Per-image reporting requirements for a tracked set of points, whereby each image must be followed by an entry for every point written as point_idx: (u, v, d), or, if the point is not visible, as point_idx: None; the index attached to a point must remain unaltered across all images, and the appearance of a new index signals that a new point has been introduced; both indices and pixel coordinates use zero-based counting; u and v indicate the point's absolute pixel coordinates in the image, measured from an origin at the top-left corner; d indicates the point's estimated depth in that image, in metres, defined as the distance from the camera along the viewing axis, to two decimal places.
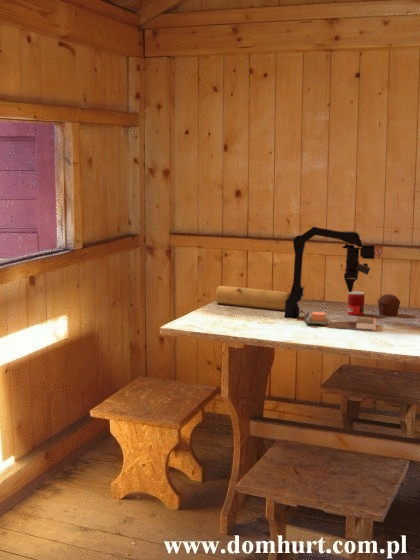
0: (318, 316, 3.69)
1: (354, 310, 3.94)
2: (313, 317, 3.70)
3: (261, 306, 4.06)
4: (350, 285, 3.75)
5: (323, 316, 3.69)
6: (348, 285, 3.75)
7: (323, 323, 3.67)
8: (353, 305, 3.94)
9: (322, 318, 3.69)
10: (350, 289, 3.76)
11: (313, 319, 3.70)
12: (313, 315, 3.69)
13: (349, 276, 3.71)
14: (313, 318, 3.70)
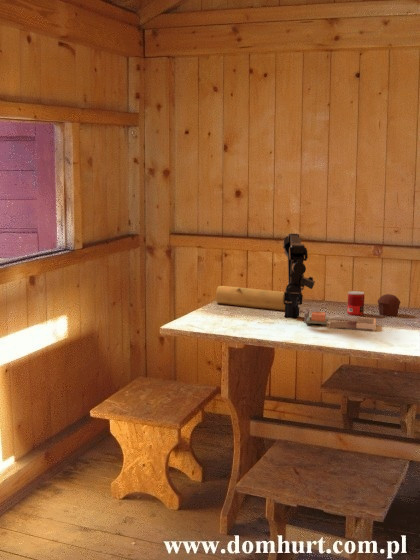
0: (318, 316, 3.69)
1: (354, 310, 3.94)
2: (313, 317, 3.70)
3: (261, 306, 4.06)
4: (294, 300, 3.67)
5: (323, 316, 3.69)
6: (292, 300, 3.68)
7: (323, 323, 3.67)
8: (353, 305, 3.94)
9: (322, 318, 3.69)
10: (294, 304, 3.68)
11: (313, 319, 3.70)
12: (313, 315, 3.69)
13: (292, 291, 3.63)
14: (313, 318, 3.70)
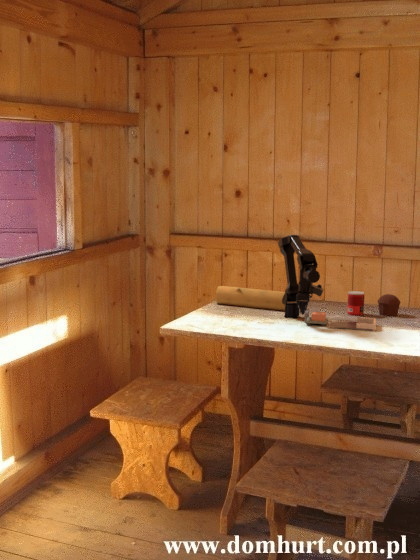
0: (318, 316, 3.69)
1: (354, 310, 3.94)
2: (313, 317, 3.70)
3: (261, 306, 4.06)
4: (302, 307, 3.67)
5: (323, 316, 3.68)
6: (300, 307, 3.67)
7: (323, 323, 3.67)
8: (353, 305, 3.94)
9: (322, 318, 3.69)
10: (303, 311, 3.68)
11: (313, 319, 3.70)
12: (313, 315, 3.69)
13: (301, 298, 3.63)
14: (313, 318, 3.70)
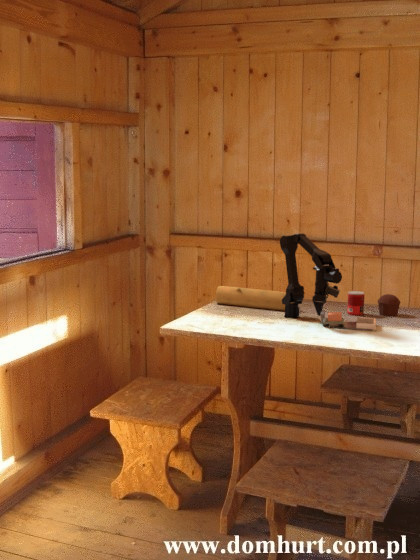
0: (334, 317, 3.68)
1: (354, 310, 3.94)
2: (329, 318, 3.68)
3: (261, 306, 4.06)
4: (319, 308, 3.66)
5: (339, 316, 3.67)
6: (317, 308, 3.66)
7: (340, 323, 3.66)
8: (353, 305, 3.94)
9: (338, 318, 3.67)
10: (319, 312, 3.66)
11: (329, 320, 3.68)
12: (329, 316, 3.68)
13: (317, 299, 3.62)
14: (329, 319, 3.68)
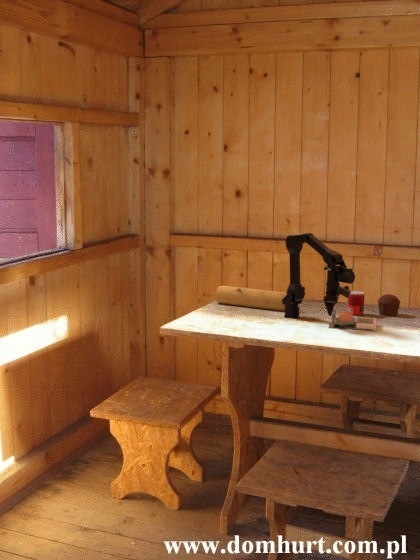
0: (345, 317, 3.67)
1: (354, 310, 3.94)
2: (340, 318, 3.67)
3: (260, 306, 4.06)
4: (330, 308, 3.65)
5: (350, 316, 3.66)
6: (328, 308, 3.65)
7: (351, 323, 3.65)
8: (353, 305, 3.94)
9: (349, 318, 3.66)
10: (330, 312, 3.65)
11: (340, 320, 3.67)
12: (340, 316, 3.67)
13: (329, 299, 3.60)
14: (340, 319, 3.67)
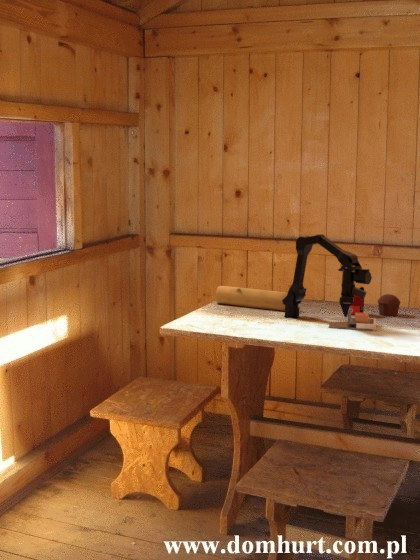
0: (361, 317, 3.65)
1: (354, 310, 3.94)
2: (356, 318, 3.66)
3: (260, 306, 4.06)
4: (345, 310, 3.63)
5: (366, 317, 3.65)
6: (343, 310, 3.63)
7: None
8: (353, 305, 3.94)
9: (365, 319, 3.65)
10: (345, 314, 3.64)
11: (356, 320, 3.66)
12: (356, 316, 3.65)
13: (344, 301, 3.59)
14: (356, 319, 3.66)
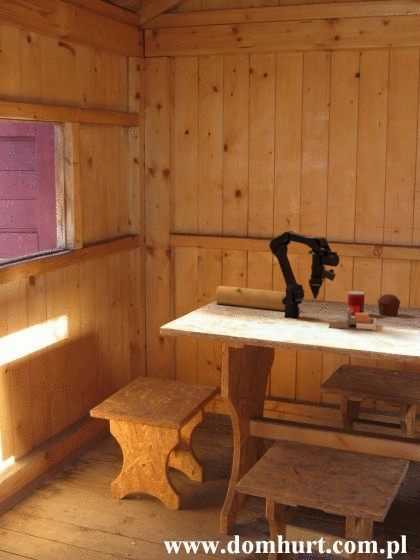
0: (361, 317, 3.65)
1: (354, 310, 3.94)
2: (356, 318, 3.66)
3: (261, 306, 4.06)
4: (315, 291, 3.71)
5: (366, 317, 3.65)
6: (313, 291, 3.71)
7: None
8: (353, 305, 3.94)
9: (365, 319, 3.65)
10: (315, 295, 3.72)
11: (356, 320, 3.66)
12: (356, 316, 3.65)
13: (314, 282, 3.67)
14: (356, 319, 3.66)
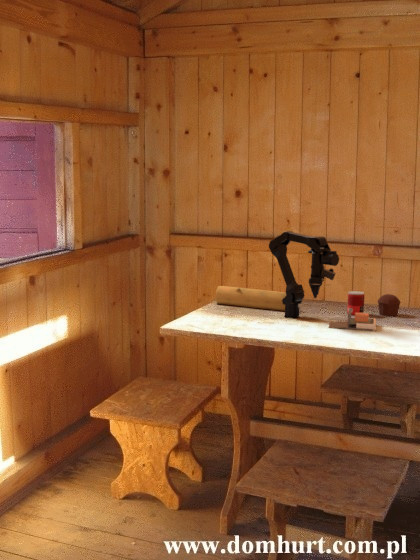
0: (361, 317, 3.65)
1: (354, 310, 3.94)
2: (356, 318, 3.66)
3: (261, 306, 4.06)
4: (315, 291, 3.71)
5: (366, 317, 3.65)
6: (313, 291, 3.71)
7: None
8: (353, 305, 3.94)
9: (365, 319, 3.65)
10: (315, 295, 3.72)
11: (356, 320, 3.66)
12: (356, 316, 3.65)
13: (313, 282, 3.67)
14: (356, 319, 3.66)
